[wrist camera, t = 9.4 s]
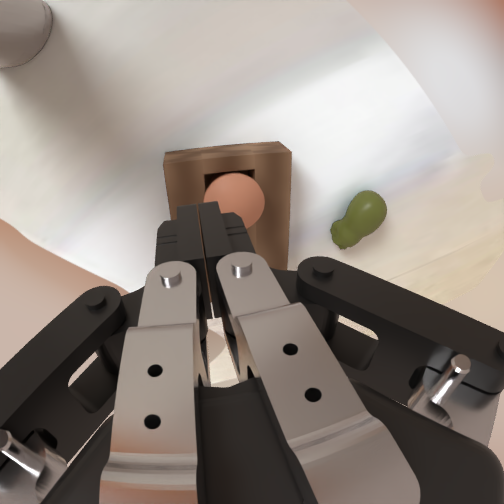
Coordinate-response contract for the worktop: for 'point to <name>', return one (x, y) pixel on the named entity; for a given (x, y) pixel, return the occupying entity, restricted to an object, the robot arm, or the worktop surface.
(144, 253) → the worktop surface
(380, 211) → the pear
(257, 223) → the brown wooden block
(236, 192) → the tan round knob
